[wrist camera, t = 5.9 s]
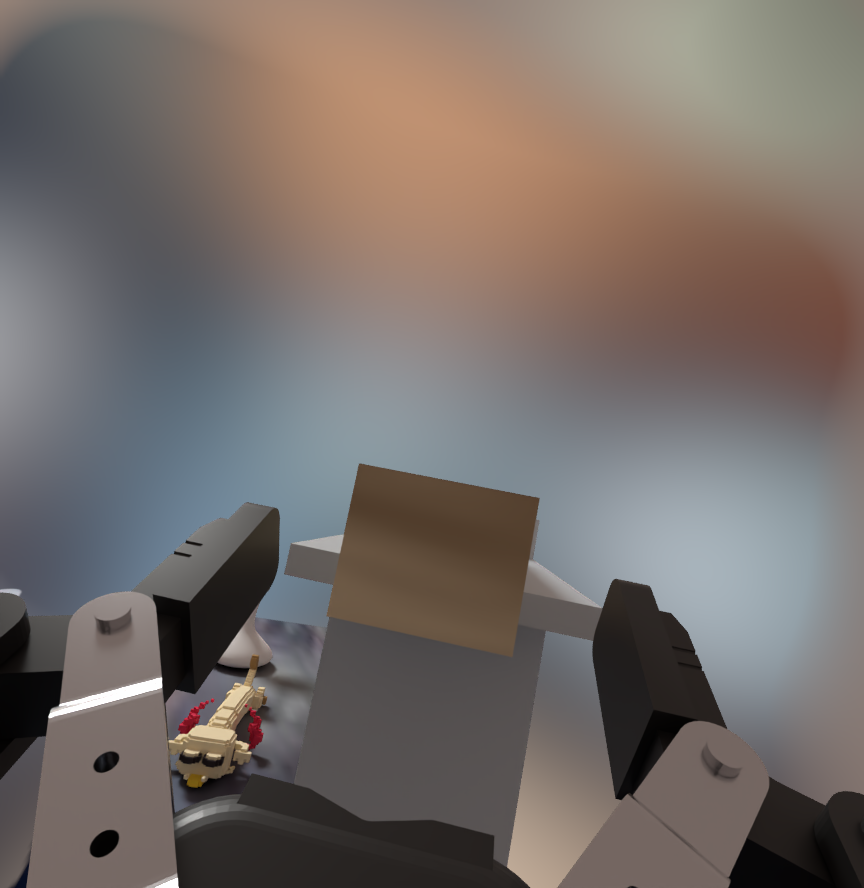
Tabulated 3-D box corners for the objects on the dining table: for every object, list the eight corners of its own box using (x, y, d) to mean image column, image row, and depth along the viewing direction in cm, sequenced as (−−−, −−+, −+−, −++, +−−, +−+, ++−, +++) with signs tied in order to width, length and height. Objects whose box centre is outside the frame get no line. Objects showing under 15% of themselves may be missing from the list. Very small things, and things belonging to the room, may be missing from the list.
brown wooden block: (512, 657, 10) (539, 498, 10) (326, 616, 10) (359, 463, 10) (479, 553, 35) (487, 509, 36) (427, 542, 36) (436, 499, 36)
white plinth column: (468, 1713, 15) (642, 532, 20) (36, 1536, 17) (283, 462, 21) (468, 1011, 37) (549, 522, 41) (280, 958, 38) (377, 488, 43)
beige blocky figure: (210, 707, 79) (142, 782, 55) (225, 647, 81) (166, 694, 56) (276, 717, 80) (238, 796, 56) (290, 657, 82) (259, 708, 57)
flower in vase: (283, 668, 97) (312, 534, 100) (230, 678, 87) (265, 530, 90) (239, 646, 104) (268, 521, 107) (186, 653, 95) (220, 516, 98)
